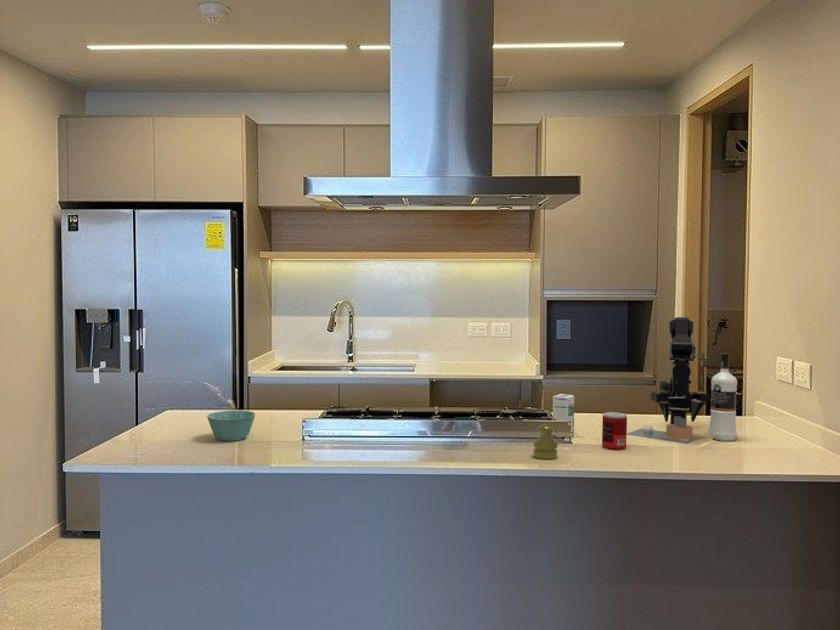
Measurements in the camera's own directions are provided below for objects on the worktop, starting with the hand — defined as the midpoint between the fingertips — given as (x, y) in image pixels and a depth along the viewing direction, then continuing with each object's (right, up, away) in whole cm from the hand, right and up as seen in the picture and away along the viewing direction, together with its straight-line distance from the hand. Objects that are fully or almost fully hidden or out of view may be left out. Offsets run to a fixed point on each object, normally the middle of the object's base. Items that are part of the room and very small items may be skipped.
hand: (679, 421), depth 255 cm
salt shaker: (-50, -7, -25) cm, 57 cm away
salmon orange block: (0, -5, 0) cm, 5 cm away
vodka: (+17, -7, +5) cm, 19 cm away
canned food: (-25, -7, -11) cm, 29 cm away
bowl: (-152, -5, -5) cm, 152 cm away
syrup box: (-39, -6, +5) cm, 40 cm away
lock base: (-4, -6, +4) cm, 9 cm away
